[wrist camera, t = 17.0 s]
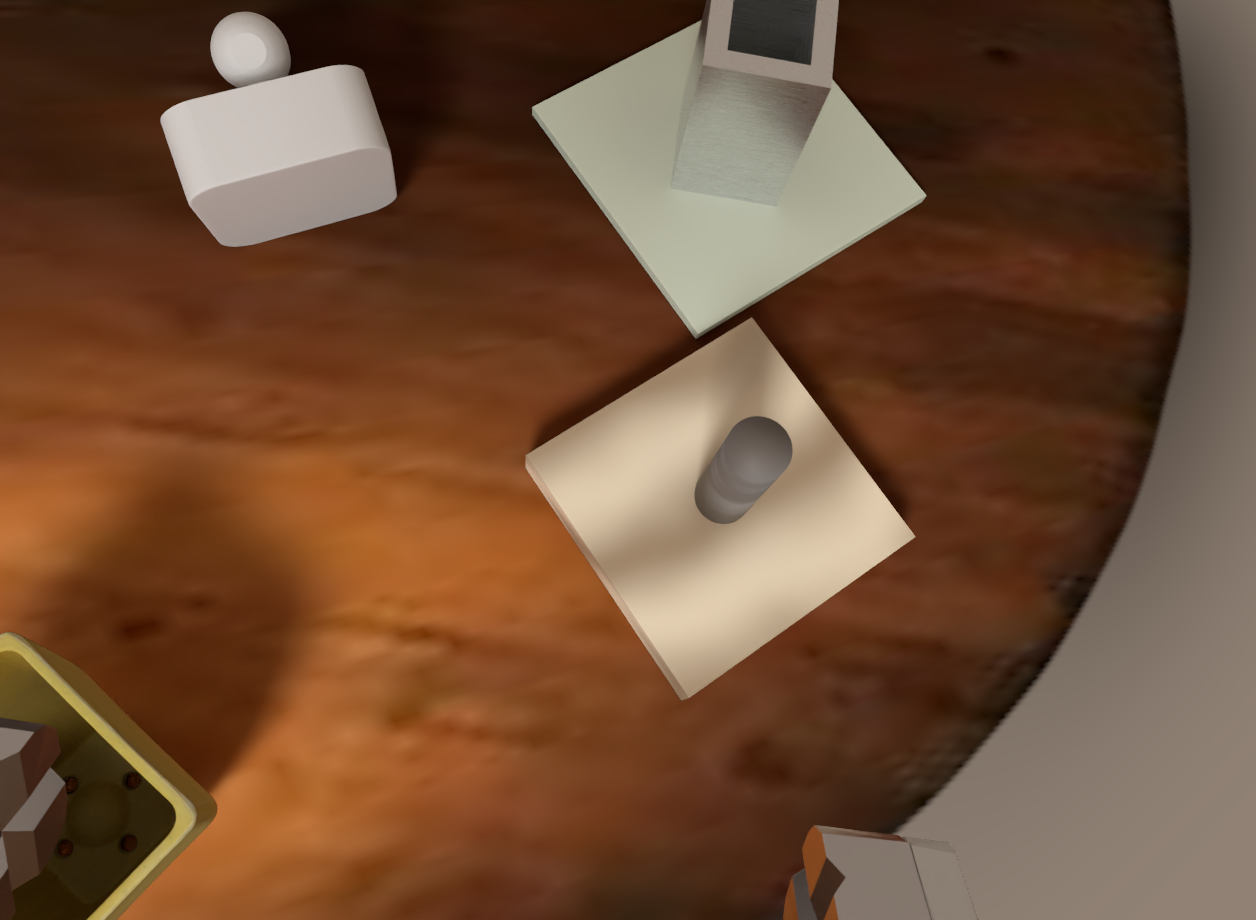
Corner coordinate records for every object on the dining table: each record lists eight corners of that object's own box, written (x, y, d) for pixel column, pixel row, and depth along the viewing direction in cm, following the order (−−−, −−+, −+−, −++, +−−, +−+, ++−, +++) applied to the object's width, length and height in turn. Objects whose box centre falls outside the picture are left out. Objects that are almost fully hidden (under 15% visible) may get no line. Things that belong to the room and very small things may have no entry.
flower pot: (272, 803, 39) (203, 816, 31) (93, 993, 37) (-37, 1065, 28) (116, 652, 40) (7, 623, 32) (-68, 827, 38) (-240, 848, 29)
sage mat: (532, 114, 49) (532, 106, 49) (757, -2, 52) (760, -11, 52) (695, 339, 47) (698, 334, 46) (921, 201, 50) (926, 195, 49)
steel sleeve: (776, 206, 48) (831, 88, 40) (670, 188, 48) (702, 64, 39) (785, 115, 50) (840, -18, 41) (682, 97, 50) (716, -41, 41)
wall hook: (332, 16, 49) (304, -111, 39) (400, 216, 49) (390, 140, 39) (164, 55, 47) (91, -66, 38) (234, 262, 47) (180, 195, 38)
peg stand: (525, 468, 44) (526, 398, 35) (742, 335, 47) (791, 240, 38) (681, 700, 42) (722, 686, 33) (898, 546, 45) (988, 496, 36)
